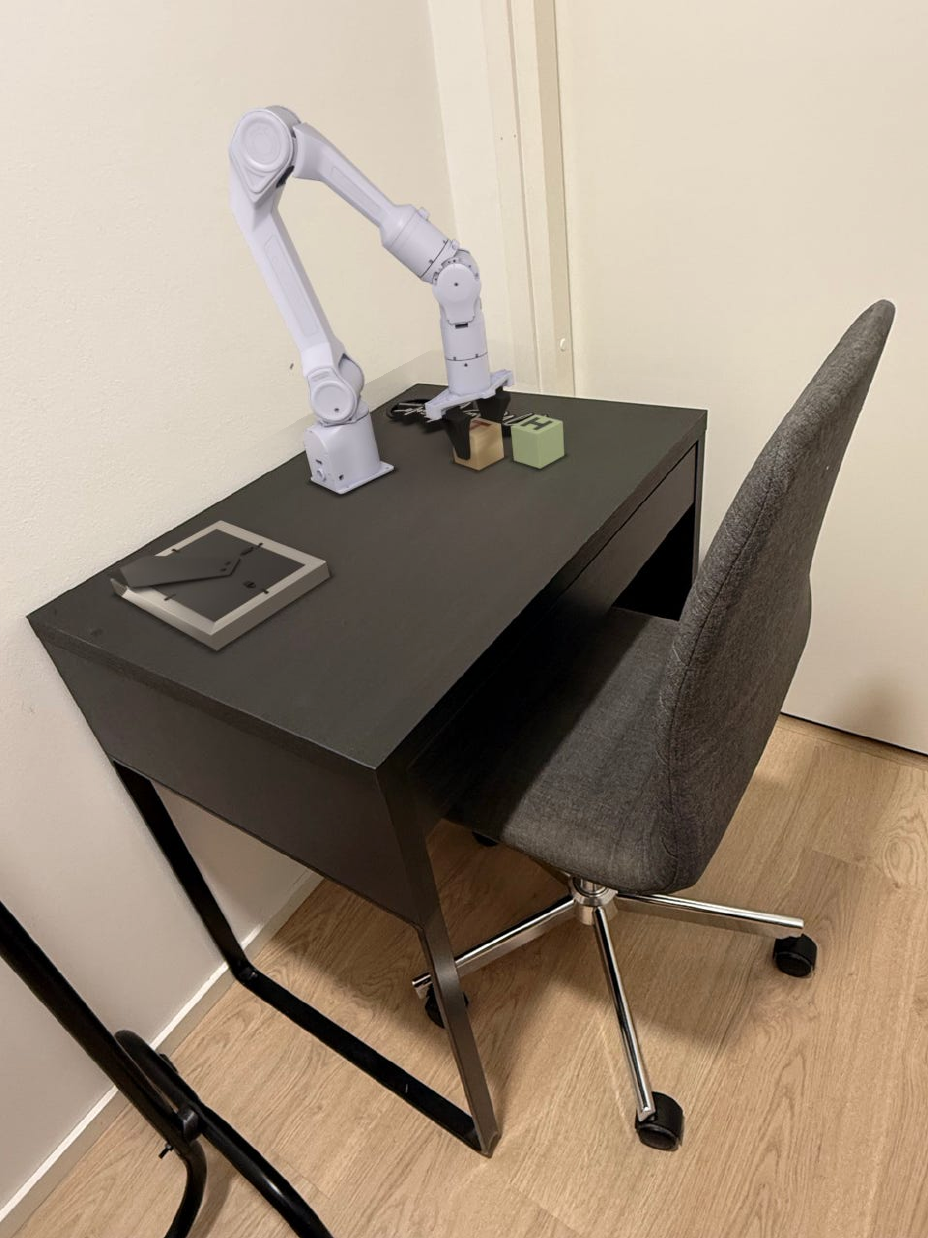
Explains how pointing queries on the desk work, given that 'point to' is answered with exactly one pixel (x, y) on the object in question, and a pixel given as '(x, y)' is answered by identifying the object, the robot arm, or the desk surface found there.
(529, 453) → the sage block
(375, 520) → the desk surface
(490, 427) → the cream block
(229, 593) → the picture frame
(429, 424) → the nameplate
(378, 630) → the desk surface
